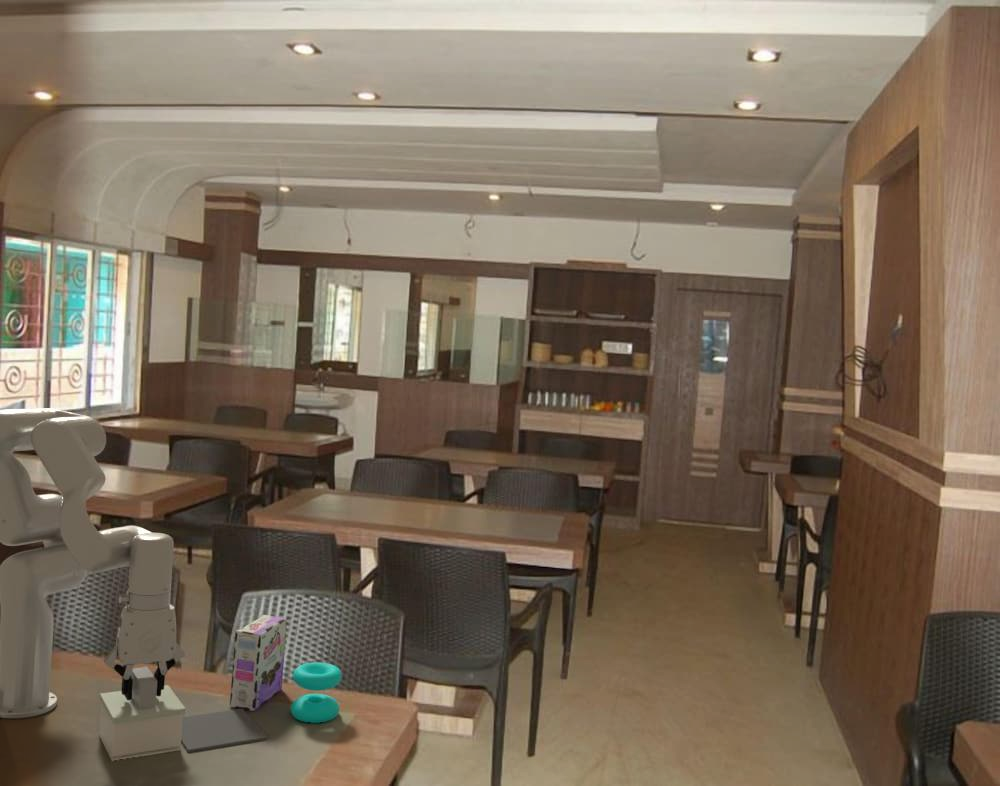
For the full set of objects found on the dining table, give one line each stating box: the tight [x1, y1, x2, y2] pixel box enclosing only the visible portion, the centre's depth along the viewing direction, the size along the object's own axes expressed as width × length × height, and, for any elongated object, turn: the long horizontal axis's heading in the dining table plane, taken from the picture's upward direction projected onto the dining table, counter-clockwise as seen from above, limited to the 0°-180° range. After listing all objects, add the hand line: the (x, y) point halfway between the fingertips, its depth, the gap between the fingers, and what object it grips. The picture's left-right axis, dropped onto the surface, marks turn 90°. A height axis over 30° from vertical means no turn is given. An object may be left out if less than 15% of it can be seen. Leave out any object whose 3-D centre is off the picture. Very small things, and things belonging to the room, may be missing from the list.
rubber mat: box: [181, 708, 268, 753], centre depth 184 cm, size 15×15×1 cm
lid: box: [99, 666, 186, 724], centre depth 175 cm, size 13×13×7 cm
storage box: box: [98, 701, 184, 762], centre depth 176 cm, size 12×12×7 cm
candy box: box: [229, 614, 288, 712], centre depth 201 cm, size 14×6×16 cm, turn 168°
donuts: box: [290, 661, 343, 724], centre depth 195 cm, size 10×10×10 cm
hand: (142, 694), depth 175 cm, fingers open, 4 cm apart
